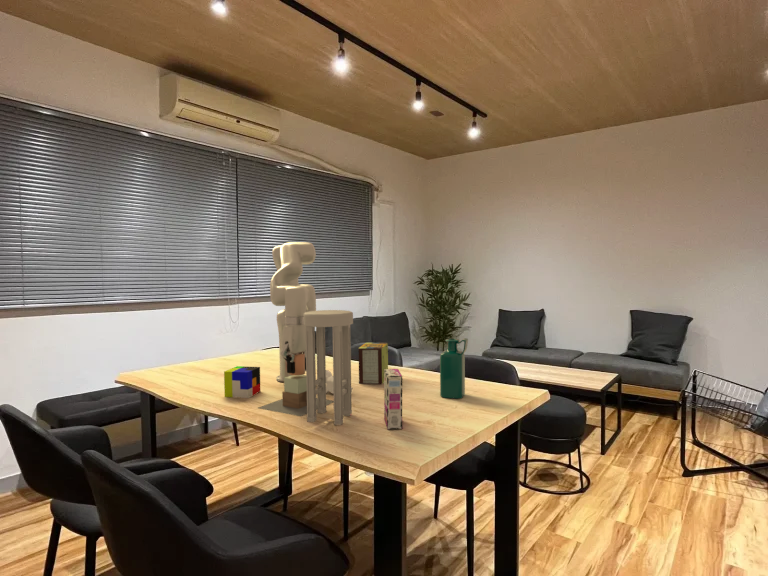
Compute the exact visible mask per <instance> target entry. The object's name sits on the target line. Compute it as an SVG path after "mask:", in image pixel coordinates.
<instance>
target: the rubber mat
mask: <svg viewBox="0 0 768 576" xmlns="http://www.w3.org/2000/svg"><path fill="white" fill-rule="evenodd" d="M331 404H334V399H333V400H331V399H327V398H326V407H327V406H329V405H331ZM257 409H259V410H260V409H261V410H265V411H271V412H275V413H281V414H285V415H292V416H296V417H303V416H305V415H306V416H307V406H304V407H302V408H299V409H298V408H292V407H287V406H283V398H281V399H278V400H276V401H273V402H270V403H266V404H264V405H262V406H259V407H257ZM316 411H318V402H317V397H316Z"/></svg>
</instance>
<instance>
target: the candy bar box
mask: <svg viewBox="0 0 768 576" xmlns="http://www.w3.org/2000/svg"><path fill="white" fill-rule="evenodd" d="M383 385H384V388H383V389H384V390H383V400H384V403H383V406H384V408H383V410H384V411H383V414H384V419H383V420H384V422H385V426H386V429H387V430H402V429H403V375H402V374H401V371H400V370H399V369H398V368H388V369H384V382H383Z"/></svg>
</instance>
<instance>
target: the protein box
mask: <svg viewBox="0 0 768 576" xmlns="http://www.w3.org/2000/svg"><path fill="white" fill-rule="evenodd" d="M388 345H389V344H388V342H365V343H363V344H362V345H361V346H359V347H358V350H357V351H358V352H357V354H358V384H360V385H362V384H363V385H384V369H389V352H388V351H389V346H388Z"/></svg>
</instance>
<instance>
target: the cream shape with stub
mask: <svg viewBox="0 0 768 576" xmlns="http://www.w3.org/2000/svg"><path fill="white" fill-rule="evenodd" d="M328 393H331V394H332V395H334V387H333V373H332V372H331V371H330V370H328V369H326V394H328ZM352 393H353V387H352V385H351V394H352Z"/></svg>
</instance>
